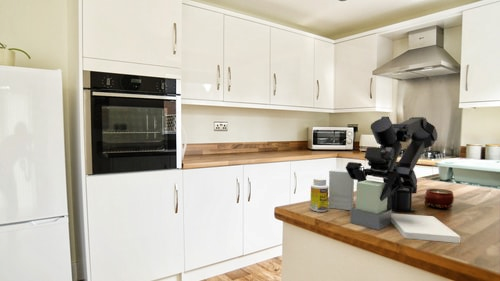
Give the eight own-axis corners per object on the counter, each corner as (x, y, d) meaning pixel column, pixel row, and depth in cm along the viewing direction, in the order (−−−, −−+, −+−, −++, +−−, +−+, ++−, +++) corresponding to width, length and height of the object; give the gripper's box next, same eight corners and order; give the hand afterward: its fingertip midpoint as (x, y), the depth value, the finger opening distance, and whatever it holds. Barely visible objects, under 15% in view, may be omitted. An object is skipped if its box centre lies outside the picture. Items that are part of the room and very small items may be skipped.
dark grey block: (363, 216, 87) (364, 197, 87) (391, 223, 81) (391, 202, 81) (350, 222, 82) (351, 201, 82) (378, 230, 76) (379, 207, 76)
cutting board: (388, 218, 86) (388, 213, 86) (432, 221, 84) (433, 216, 84) (404, 238, 71) (405, 232, 71) (460, 243, 68) (460, 236, 68)
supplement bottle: (319, 213, 90) (320, 180, 90) (306, 209, 95) (307, 178, 94) (331, 210, 93) (332, 179, 93) (318, 206, 98) (319, 176, 97)
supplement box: (353, 205, 100) (355, 169, 99) (351, 211, 93) (352, 172, 93) (332, 202, 103) (333, 167, 103) (328, 207, 97) (328, 170, 96)
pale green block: (365, 205, 86) (366, 179, 85) (386, 209, 81) (387, 183, 81) (355, 208, 82) (356, 182, 81) (377, 213, 77) (378, 185, 77)
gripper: (349, 136, 90) (329, 175, 83) (415, 138, 76) (397, 185, 69) (360, 159, 96) (342, 197, 89) (423, 165, 82) (408, 211, 75)
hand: (369, 197), depth 80 cm, fingers closed on pale green block, 6 cm apart
